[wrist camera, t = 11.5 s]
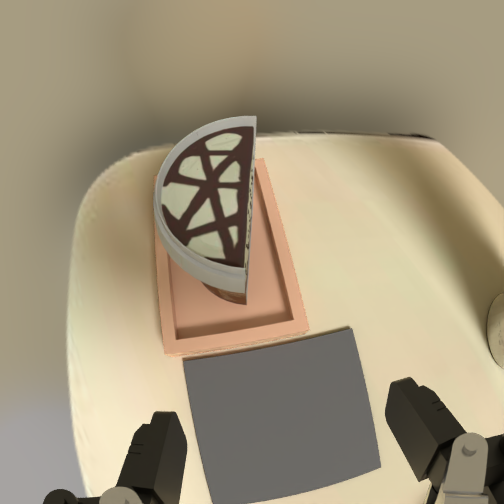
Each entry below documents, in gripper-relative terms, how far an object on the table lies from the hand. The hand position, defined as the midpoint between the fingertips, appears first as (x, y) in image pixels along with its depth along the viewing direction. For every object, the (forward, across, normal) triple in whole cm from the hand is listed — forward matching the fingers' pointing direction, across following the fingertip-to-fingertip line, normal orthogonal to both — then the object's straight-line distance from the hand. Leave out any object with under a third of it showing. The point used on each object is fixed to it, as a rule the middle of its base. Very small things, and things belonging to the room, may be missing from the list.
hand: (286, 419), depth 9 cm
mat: (+9, -1, +10) cm, 13 cm away
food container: (+18, +4, -2) cm, 18 cm away
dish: (+18, +3, -2) cm, 18 cm away
